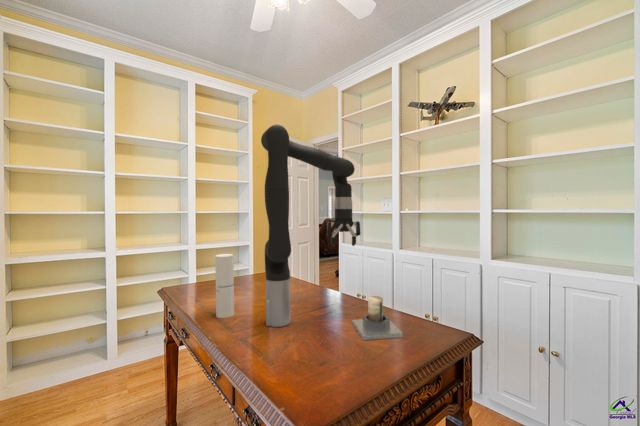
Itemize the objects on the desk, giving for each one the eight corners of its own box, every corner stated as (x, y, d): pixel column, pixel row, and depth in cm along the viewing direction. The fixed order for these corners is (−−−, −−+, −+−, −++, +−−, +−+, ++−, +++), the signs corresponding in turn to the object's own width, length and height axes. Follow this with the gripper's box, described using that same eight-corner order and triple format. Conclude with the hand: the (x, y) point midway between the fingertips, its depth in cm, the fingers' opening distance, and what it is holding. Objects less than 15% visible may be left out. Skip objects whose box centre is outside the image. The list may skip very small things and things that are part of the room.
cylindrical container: (228, 318, 118) (227, 256, 117) (212, 317, 119) (211, 256, 118) (237, 312, 125) (236, 254, 124) (221, 311, 126) (221, 253, 125)
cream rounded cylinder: (376, 329, 102) (375, 301, 102) (365, 324, 106) (365, 297, 106) (386, 326, 105) (385, 298, 105) (375, 321, 110) (375, 295, 109)
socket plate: (363, 340, 98) (363, 327, 97) (352, 323, 111) (352, 312, 111) (402, 337, 100) (402, 324, 100) (387, 321, 113) (387, 309, 113)
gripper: (328, 208, 120) (328, 247, 120) (362, 207, 122) (362, 246, 122) (325, 208, 127) (325, 245, 127) (357, 207, 129) (357, 244, 129)
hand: (343, 245), depth 125 cm, fingers open, 8 cm apart
